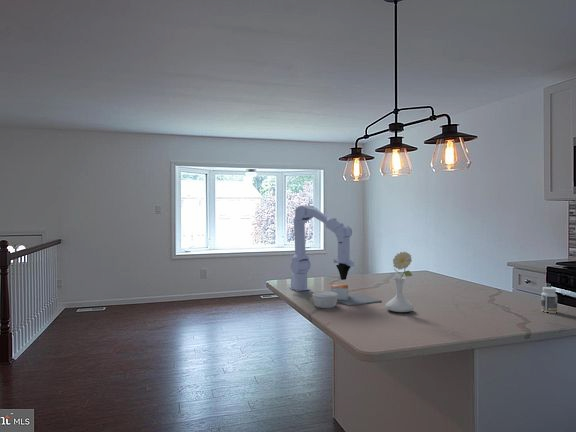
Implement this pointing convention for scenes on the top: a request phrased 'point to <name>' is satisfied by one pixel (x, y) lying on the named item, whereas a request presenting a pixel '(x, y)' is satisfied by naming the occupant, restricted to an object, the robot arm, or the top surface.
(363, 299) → the grey mat
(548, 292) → the pill bottle
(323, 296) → the ramekin
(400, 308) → the flower in vase
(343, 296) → the small box
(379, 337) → the top surface
